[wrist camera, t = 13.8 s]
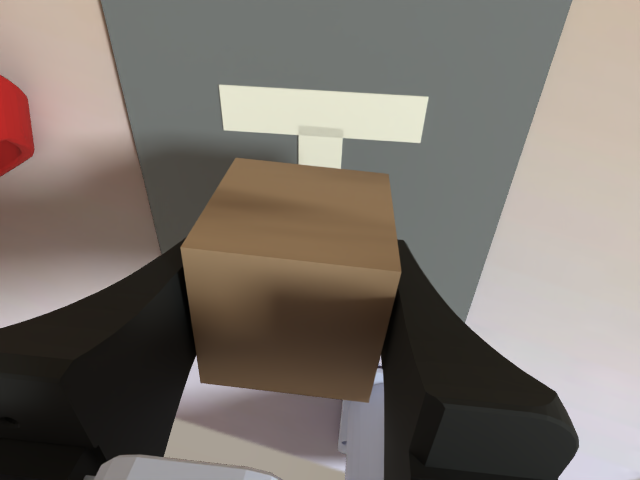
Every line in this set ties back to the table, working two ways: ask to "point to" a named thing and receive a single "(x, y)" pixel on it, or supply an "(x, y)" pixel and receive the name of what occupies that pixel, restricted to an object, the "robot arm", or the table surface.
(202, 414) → the table surface
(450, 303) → the letter mat
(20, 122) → the tracker holder
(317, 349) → the walnut cube
